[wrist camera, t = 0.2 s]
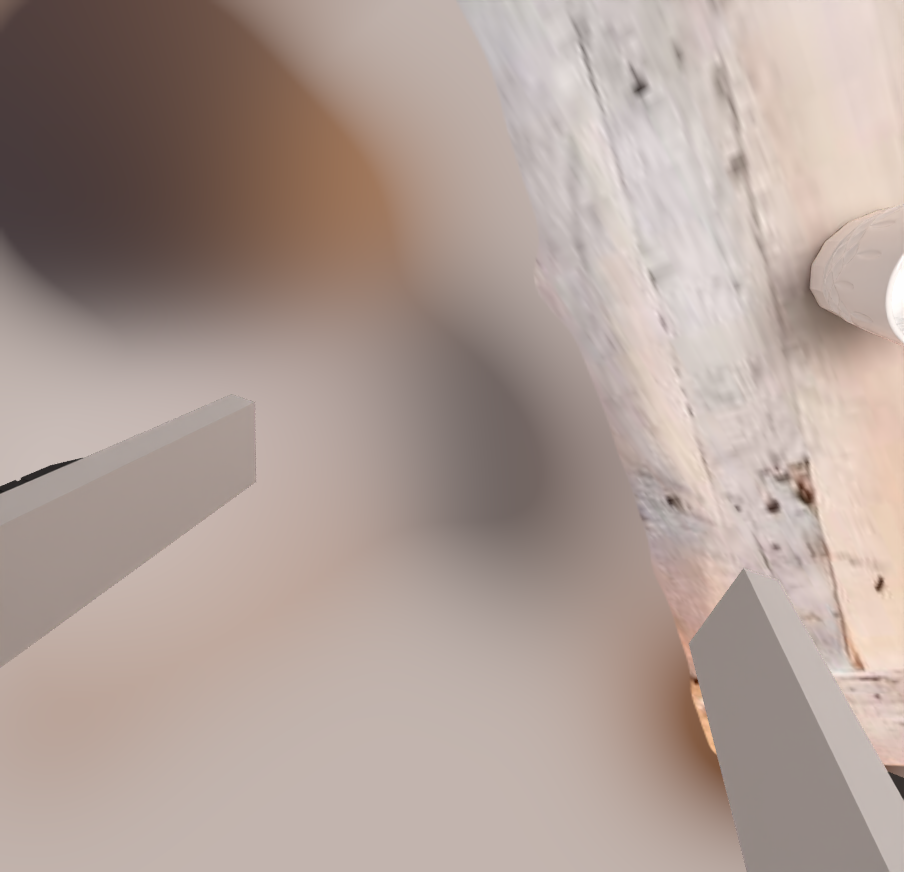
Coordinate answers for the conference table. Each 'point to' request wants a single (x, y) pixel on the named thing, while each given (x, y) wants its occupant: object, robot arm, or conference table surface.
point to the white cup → (865, 273)
